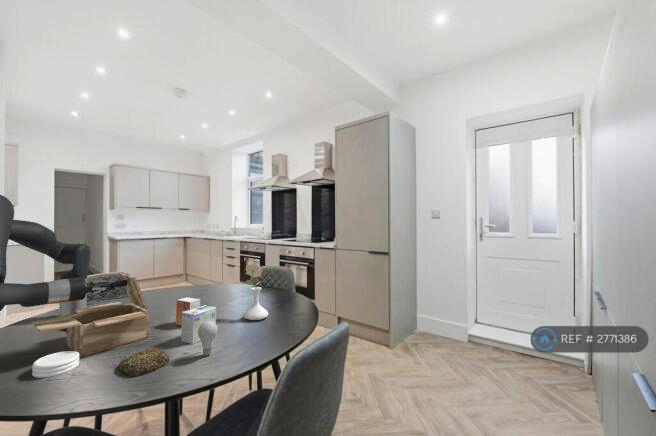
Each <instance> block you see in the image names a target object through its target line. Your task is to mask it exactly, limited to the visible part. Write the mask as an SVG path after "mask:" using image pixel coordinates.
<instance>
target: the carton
mask: <svg viewBox="0 0 656 436" xmlns="http://www.w3.org/2000/svg"><path fill="white" fill-rule="evenodd" d="M75 312H76V313H78V314H75V315H70V316H69V315H64V316H59V315H58V316H54V317H49V318H43V319H38V320H33V321H31V325H32V326H33V328H35V329H36V331H38V333H39V334H44V333H49V332H50V333H51V332H53V331H59V330H63V329H64V328H67V329H66V343H65V345H66V346H67V347H68V348H69V349H70V351H75V352H78V353H79V359H80V358H82V357H86V356H89V355H90V356H91V355H94V354H97V353H100V352H104V351H108V350H112V349H115V348H119V347H122V346H126V345H129V344H133V343H136V342H139V341H143V340H148V339H149V332H150V329H149V327H150V322H149V321H150V311H149V310H147V309H144V308H142V307H140V306H137V305H135V304H133V303H129V304H124V303H123V302H121V301H118V302H111V303H106V304H100V305H94V306H89V307H87V306H86V308H81V309H76V310H75ZM64 330H65V329H64Z"/></svg>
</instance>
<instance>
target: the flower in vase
mask: <svg viewBox="0 0 656 436" xmlns="http://www.w3.org/2000/svg"><path fill="white" fill-rule="evenodd" d="M245 271H246V273H247V274H248V275H249V276H250V277H251V280H250V279H247V280H246V281H245V282H244V284H247V285H252V286H253V287H251V288H250V290H251V292H252V295H253V304H252V305H251V306H250V307H249V308H248V309H246V310H245V311H244V312H243V314H242V317H243V319H245V320H249V321H258V320H262V319H263V320H264V319H265V318H267V317H268V316H269V312H268V310H267V309H266V308H265V307H263V306H262V305H261V304H260V301H259V300H260V299H259V298H260V293H261V290H262V289H263V288H262V287H260V286H257V285H259V284H261V281H258V282H257V283H255V284H254V282H253V278H257V277H258V278H259V277H261V276H262V273H263V270H262V268H261V267H260V265H257V263H249V264H247V265H245Z"/></svg>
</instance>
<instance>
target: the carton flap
mask: <svg viewBox="0 0 656 436" xmlns="http://www.w3.org/2000/svg"><path fill="white" fill-rule="evenodd" d="M118 275H119V277H120V280H127V286H123V287H124V289H125V292H126V294H127V296H128V299H129V301H130V304H134V305H136V306H138V307H140V308H143V309H145V310H147V309H148V308H149V307H148V305H147V302H146V300H145V297H144V295H143V292H142V290H141V288H140V285H139V282H138V280H137V278H136V277H137V276H133V275H129V274H126V273H123V272H120V273H119V274H118Z"/></svg>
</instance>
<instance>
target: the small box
mask: <svg viewBox="0 0 656 436" xmlns="http://www.w3.org/2000/svg"><path fill="white" fill-rule="evenodd" d="M198 307H201V298H195V297H194V298H192V297H187V296H186V297H183V298H179V299H176V307H175V325H177V326H182V312H185V311H188V310H191V309H194V308H198Z"/></svg>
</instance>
